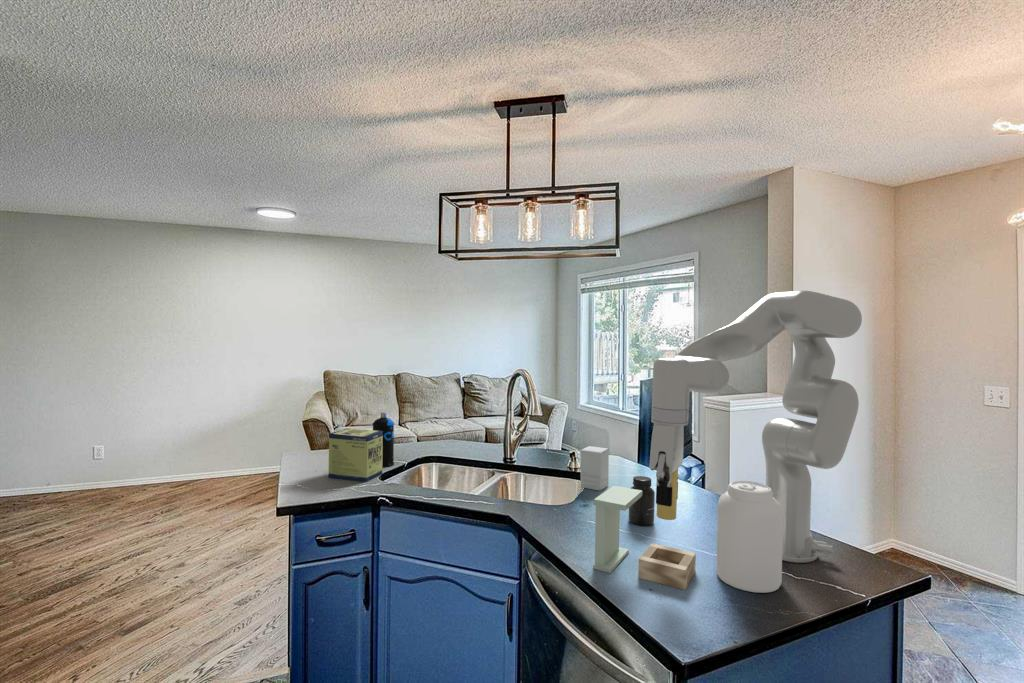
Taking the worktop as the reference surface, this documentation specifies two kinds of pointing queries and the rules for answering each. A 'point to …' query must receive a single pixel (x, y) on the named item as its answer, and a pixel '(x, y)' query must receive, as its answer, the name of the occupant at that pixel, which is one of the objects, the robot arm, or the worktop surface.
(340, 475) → the protein box
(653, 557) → the socket block
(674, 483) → the peg
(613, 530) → the pale green stand
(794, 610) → the worktop surface
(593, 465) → the supplement box
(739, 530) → the can
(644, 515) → the supplement bottle
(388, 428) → the black bottle
